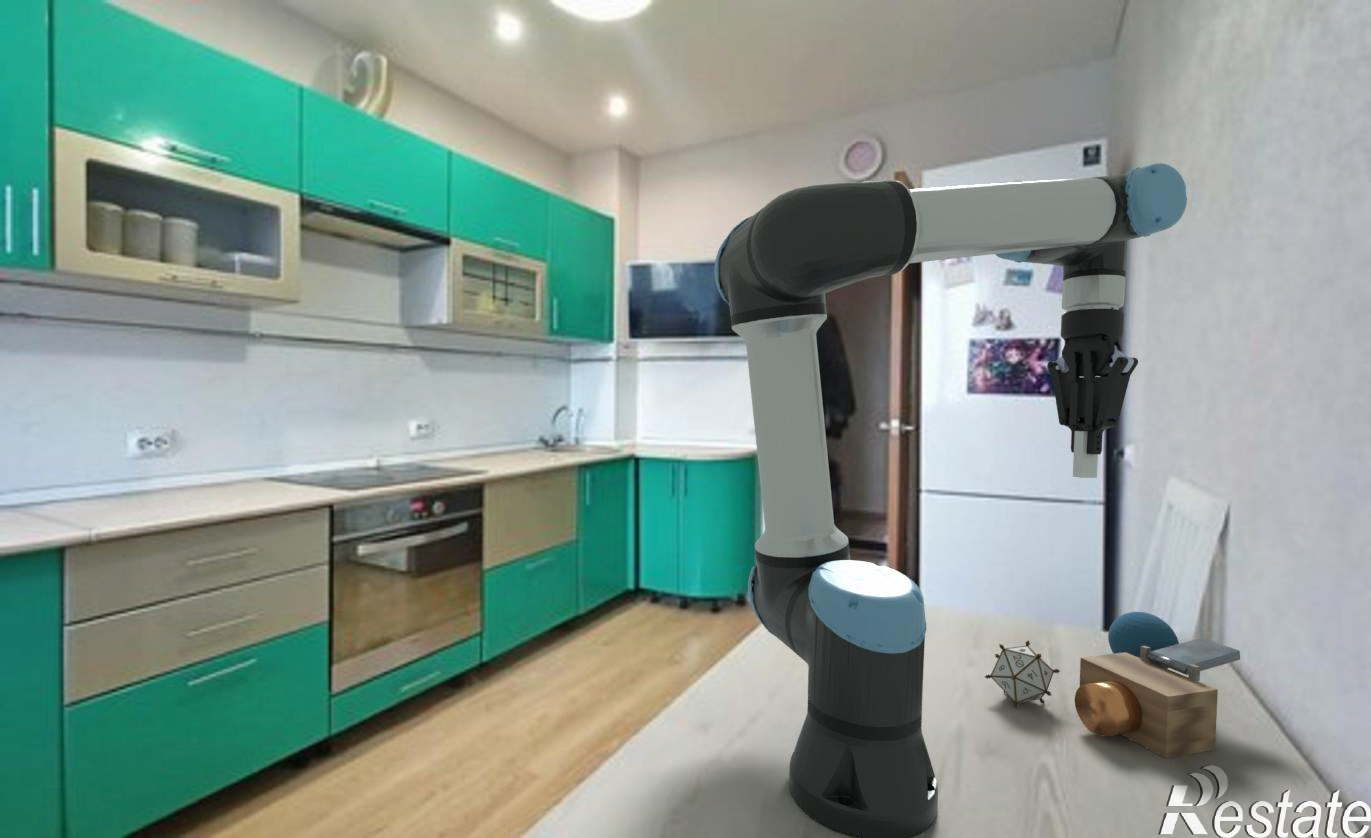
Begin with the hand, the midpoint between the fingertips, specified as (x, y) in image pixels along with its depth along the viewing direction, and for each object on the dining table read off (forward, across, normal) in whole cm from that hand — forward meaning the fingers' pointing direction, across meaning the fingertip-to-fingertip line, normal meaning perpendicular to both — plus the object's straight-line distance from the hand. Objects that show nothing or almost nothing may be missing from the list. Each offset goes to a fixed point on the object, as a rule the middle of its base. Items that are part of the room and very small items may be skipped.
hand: (1084, 476), depth 92 cm
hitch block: (+32, -10, -1) cm, 33 cm away
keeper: (+23, -10, -9) cm, 27 cm away
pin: (+31, -10, -1) cm, 33 cm away
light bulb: (+32, -2, -10) cm, 33 cm away
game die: (+32, 0, +9) cm, 33 cm away
